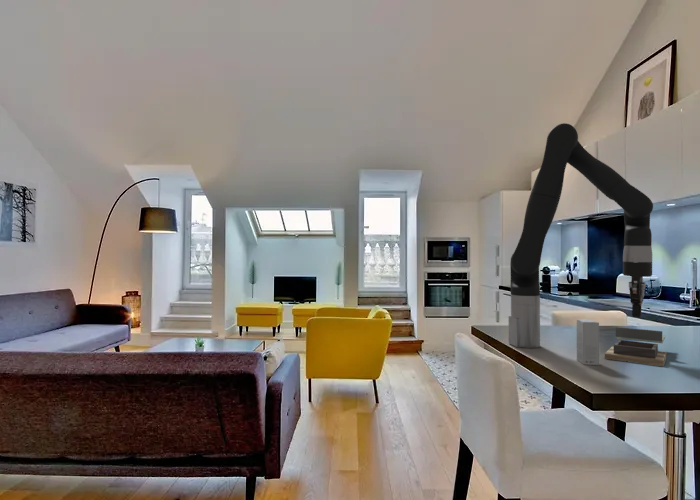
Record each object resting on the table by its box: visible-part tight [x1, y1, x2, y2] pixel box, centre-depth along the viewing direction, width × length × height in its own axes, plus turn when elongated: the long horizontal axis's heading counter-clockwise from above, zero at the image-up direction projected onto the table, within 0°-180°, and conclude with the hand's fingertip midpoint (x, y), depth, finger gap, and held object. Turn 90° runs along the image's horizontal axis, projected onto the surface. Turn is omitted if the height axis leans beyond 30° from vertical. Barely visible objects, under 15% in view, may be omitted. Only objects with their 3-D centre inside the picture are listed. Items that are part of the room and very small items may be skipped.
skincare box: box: [576, 318, 600, 366], centre depth 120 cm, size 6×4×12 cm
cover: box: [615, 326, 666, 344], centre depth 135 cm, size 12×12×4 cm
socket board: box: [604, 339, 668, 367], centre depth 126 cm, size 14×14×4 cm
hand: (636, 316), depth 130 cm, fingers closed
